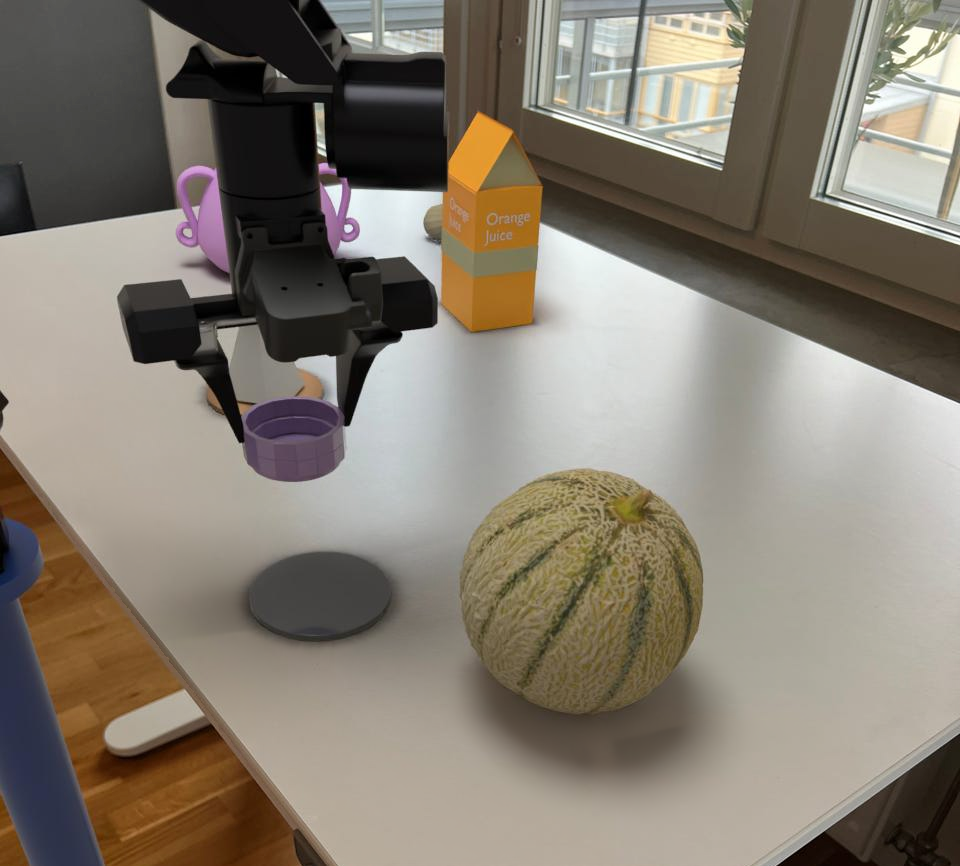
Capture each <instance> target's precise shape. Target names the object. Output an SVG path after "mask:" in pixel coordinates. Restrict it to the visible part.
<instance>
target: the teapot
mask: <svg viewBox="0 0 960 866" xmlns="http://www.w3.org/2000/svg"><path fill="white" fill-rule="evenodd" d="M324 174H325V175H326V174H327V175H328V174H329V175H333V176H336V177H337V172H336V169H330V168H329V166H328V163H327V162H322V163H319V176H320V175H324ZM197 177H198V178H199V177H200V178H201V177H202V178H207V179H209V180H208V183H207V184H206V187H205V189H204V192H203V195H202V197H201V200H200V204H199V208H198V213H197V217H196V214H195V211H194V210H193V207H192V205H191V202H190V200H189V196H188V192H187V183H188V182H189V181H190V180H191V179H193V178H197ZM339 180H340V182H341V198H340V203H339V208H338V210H337V211H338V213H337V211H336V208H335V206H334V204H333V202H332V199H331V197H330V195H329V194H328V191H327V190H326V189H325V186H324V185H323V184H322V182H321V181H320V191H321V206H322V212H323V213H324V214H325V220H326V226H327V232H328V241H329V244H330V246H331V249H332V252H333V254H334V255H335V254H336V252H337V251H338V249H339V248H340V245H341V242H343V243H352V242H353V241H356V240H357V239H358V238H359V236H360V232H361V227H360V224H359V222H358V220H357V219H356V218H354V217H347V216H348V211H349V208H350V204H351V203H350V202H351V196H352V189H349V187H348V183H347V178H339ZM218 186H219V185H218V179H217V171H216V167H215V168H214V169H213V168H211V167H208V166H203V165H195V166H191V167H188V168H187V169H185V170H184V171H182V172H181V173H180V175H179V176H178V178H177V181H176V194H177V198H178V202H179V204H180V207H181V210H182V211H183V214H184V217H185V218H186V221H181V222H179V223H178V224H177V226H176V228H175V238H176V239H177V241H178V243H179V244H180V245H182V246H184V247H186V248H191V249H192V248H196V247H198V246H199V248H200V250H201V251H202V253H203V254H204V255H205V256H206V257H207V259H209V260H210V261H211V262H212V263H213V264H214V265H215V266H216V267H217V268H218V269H220V270H222V271H223V272H225V273H228V274H229V266H228V258H227V250H226V242H225V234H224V227H223V219H222V211H221V203H220V195H219V187H218ZM348 225H350V226H352V230H351V231H349V232H346V230H345V226H348ZM185 229H188V230H190V231H191V237H189V236H187V235H185V234H184V230H185Z"/></svg>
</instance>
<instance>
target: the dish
mask: <svg viewBox="0 0 960 866" xmlns="http://www.w3.org/2000/svg"><path fill="white" fill-rule="evenodd" d="M241 418H242V421H243V426H244V443H241V445H242V446H241V447H242V454H243V458H244V459H245V462H246V464H247V466H249V467H251V468H252V470H253V471H254V472H255V473H257V474H258V475H259V476H262V477H264V478H266V479H268V480H271V481H277V482H283V483H301V482H308V481H313V480H317V479H321V478H324V477H325V476H328V475H329V474H331V473H333V472H334V471H336V469H337V468H339V466H340V465H341V463H342V461H344V459H345V458H346V454H347V449H348V448H347V434H346V432H347V431H346V427H345V417H344V415H343V414H342V412H341V410H340V409H339V407H338V405H335V404H334V403H332V402H330V401H328V400H325V399H317V398H312V397H299V396H288V397H281V398H274V399H269V400H266V401H264V402H261V403H258V404H255V405H253V406H252V407H251V408H249V409H248V410H247V411H245V412H244V413H243V415H242V417H241Z"/></svg>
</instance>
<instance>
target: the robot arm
mask: <svg viewBox="0 0 960 866" xmlns="http://www.w3.org/2000/svg"><path fill="white" fill-rule="evenodd" d="M137 2H140V3H141V4H142V5H143V6H145V7H147V8H148V9H149V10H151V11H152V12H154V13H155V14H156V15H158V16H159V17H160V18H162V19H163V20H164V21H166V22H167V23H170V24H172V25H173V26H175V27H177V28H178V29H181V30H183V31H185V32H186V33H188V34H190V35H192V36H193V37H196V38H198V39H199V40H198V41H197V42H195V43H194V44H192V45H191V46H190V48H189V49H188V53H187V56H186V58H185V61H184V62H183V65H182V66H181V67H180V69H179V70H178V72H177V73H176V74H175V75H174V76H173V78H171V79H170V80H169V81H168V82H167V83H166V85H165V92H166V94H167V95H168V96H169V97H170V98H173V99H186V100H187V99H188V100H189V99H190V100H207V108H208V116H209V124H210V131H211V139H212V140H211V141H212V147H213V154H214V162H215V163H214V164H215V168H216V171H217V179H218V185H219V186H218V187H219V195H220V203H221V211H222V219H223V227H224V234H225V242H226V250H227V258H228V266H229V273H228V274H229V279H230V280H229V281H230V289H231V293H226V294H215V295H207V296H199V297H191V296H190V294H189V292H188V290H187V288H186V286H185V283H184V282H183V280H182V278H179V279H178V278H177V279H169V280H160V281H159V280H157V281H149V282H140V283H130V284H124V285H123V286H122V288H121V289H120V291H119V293H118V294H117V295H116V300H117V307H118V312H119V315H120V316H119V317H120V321H121V326H122V330H123V333H124V336H125V339H126V340H125V341H126V343H127V345H128V349H129V352H130V355H131V357H132V358H131V359H132V360H133V362H134V363H138V364H143V365H151V364H158V363H165V362H171V361H172V362H174V365H175V366H176V368H177V369H179V370H181V371H196V372H197V373H198V375H200V377H201V378H202V379H203V380H204V382H205V383H206V385H207V387H208V386H209V387H210V389H211V390H212V392H213V393H214V395H215V396H216V398H217V400H218V402H219V404H220V406H221V408H222V410H223V412H224V414H225V415H224V414H223V415H224V416H225V418H226V420H227V422H228V424H229V426H230V428H231V430H232V432H233V434H234V436H235V438H236V440H237V443H238V444H242V443H244V426H243V421H242V418H241V414H240V410H239V406H238V403H237V399H236V395H235V392H234V388H233V384H232V380H231V377H230V372H229V366H230V363H229V359H228V357H227V355H226V353H225V351H224V349H223V346H222V345H221V343H220V340H219V339H218V338H219V335H218V334H219V333H218V330H223V329H224V330H225V329H233V328H234V329H235V328H239V327H242V326H251V325H258V327H259V330H260V333H261V335H262V338H263V341H264V345H265V349H266V352H267V354H268V355H269V356H270V357H271V358H272V359H273V360H275V361H278V362H283V363H287V362H294V363H295V362H297V361H298V360H299V359H305V358H312V357H319V356H328V357H329V358H332V357H335V378H336V381H335V382H336V400H337V401H336V402H337V407H339V409H340V410H341V412H342V414H343V415H344V417H345V428H348V427H350V426H351V423H352V421H353V418H354V416H355V412H356V410H357V406H358V403H359V399H360V397H361V394H362V391H363V388H364V384H365V382H366V379H367V376H368V374H369V372H370V369H371V368H372V366H373V363H374V361H375V359H376V357H377V356H378V355H379V354H380V353H381V352H382V351H383V350H384V349H386V348H387V347H388V346H389V345H392V344H393V345H394V344H397V343H400V342H401V341H402V338H403V336H404V334H403V332H410V331H419V330H424V329H433V328H434V327H435V326H436V325H438V322H439V321H438V320H439V318H438V317H439V315H438V314H439V313H438V312H439V298H438V294H437V290H436V285H434V284H433V283H432V282H431V280H429V279H428V277H426V276H425V275H424V274H423V273H422V271H421V270H419V269H418V267H416V266H415V265H414V264H413V263H412V262H411V261H410V260H409V259H408V258H407V257H406V256H405V255H404V256H403V255H402V256H395V257H394V256H393V257H385V258H376V257H375V256H365V257H355V258H347V257H337V258H336V257H335V254H333V252H332V249H331V246H330V244H329V241H328V232H327V226H326V220H325V214H324V213H323V212H322V206H321V191H320V182H321V178H320V177H321V176H320V175H319V164H320V162H319V148H318V132H317V118H316V117H317V115H316V104H323V122H324V123H323V124H324V127H323V128H324V145H325V146H324V147H325V156H326V163H328V166H329V168H330V169H336V172H337V176H336V178H337V179H340V178H347V183H348V187H349V189H351V190H367V191H368V190H370V191H396V192H397V191H400V192H425V193H426V192H428V193H429V192H430V193H431V192H432V193H443V192H448V167H449V161H450V111H447V77H446V74H447V69H446V68H447V57H446V55H445V54H444V52H442V51H418V52H413V53H410V54H389V53H386V54H385V53H361V52H359V53H358V52H353V47H352V44H350V42H349V40H348V38H347V37H346V36H345V35H344V33H343V32H342V28H340V27H339V25H338V24H337V23H336V21H335V20H334V18H333V17H332V15H331V14H330V12H329V11H328V10H327V8H326V7H325V5H324V4H323V2H322V0H137ZM209 45H211V46H212V47H214V48H215V49H218V50H220V51H222V52H224V53H226V54H229V55H231V56H234V57H242V58H249V59H238V58H222V56H220V55H218V54H217V53H216V51H214V50H213V49H212V48H211V47H210V46H209ZM257 57H259V58H260V59H250V58H257ZM277 71H278V72H279V73H280V74H281V75H283V76H284V77H283V76H278V74H277ZM9 403H10V400H8V398H7V397H6V396H5V394H4V393H3V392H2V390H0V431H1V429H2V428H3V425H4V419H5V418H4V413H3V411H4V410H5V408H7V406H8V405H9ZM4 518H5V516H4V513H3V510H2V506H0V574H2V573H4V572H5V553H8V551H9V550H10V547H9V532H8V529H7V526H6V522H5V519H4Z"/></svg>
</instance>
